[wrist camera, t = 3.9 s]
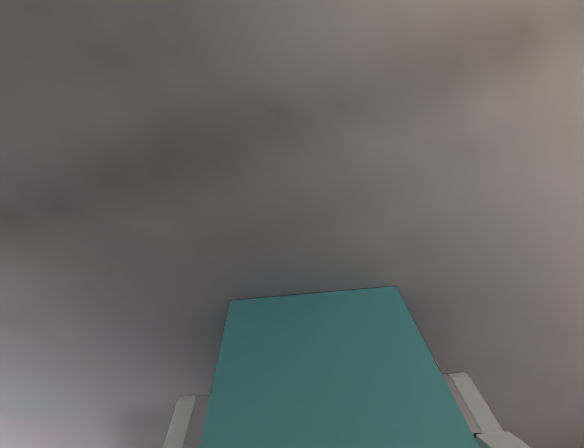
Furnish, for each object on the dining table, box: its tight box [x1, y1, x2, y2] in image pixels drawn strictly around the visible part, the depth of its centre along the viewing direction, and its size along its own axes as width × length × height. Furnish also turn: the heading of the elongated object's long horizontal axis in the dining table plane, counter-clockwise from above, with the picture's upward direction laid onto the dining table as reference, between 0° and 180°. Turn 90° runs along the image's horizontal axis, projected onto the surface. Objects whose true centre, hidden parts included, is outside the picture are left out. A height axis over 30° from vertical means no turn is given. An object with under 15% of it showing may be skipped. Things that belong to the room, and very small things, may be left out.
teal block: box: [199, 286, 480, 448], centre depth 8 cm, size 5×5×5 cm
